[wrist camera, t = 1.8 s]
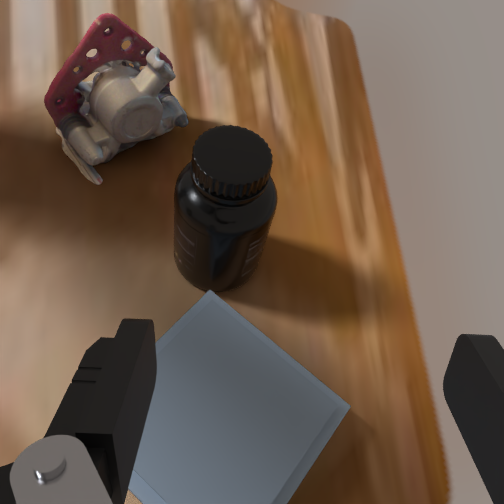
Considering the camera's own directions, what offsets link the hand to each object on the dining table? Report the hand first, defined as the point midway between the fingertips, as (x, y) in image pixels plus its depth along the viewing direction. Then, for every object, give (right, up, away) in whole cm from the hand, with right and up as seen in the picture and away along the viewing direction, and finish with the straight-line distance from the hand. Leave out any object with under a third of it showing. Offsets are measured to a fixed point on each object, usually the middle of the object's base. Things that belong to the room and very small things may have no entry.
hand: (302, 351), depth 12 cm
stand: (-4, -9, +18) cm, 20 cm away
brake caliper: (-14, +14, +30) cm, 36 cm away
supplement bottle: (-4, +2, +25) cm, 25 cm away
